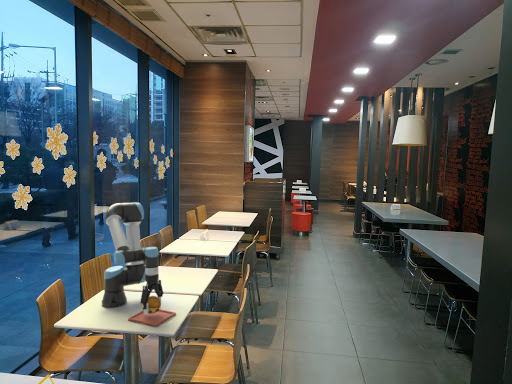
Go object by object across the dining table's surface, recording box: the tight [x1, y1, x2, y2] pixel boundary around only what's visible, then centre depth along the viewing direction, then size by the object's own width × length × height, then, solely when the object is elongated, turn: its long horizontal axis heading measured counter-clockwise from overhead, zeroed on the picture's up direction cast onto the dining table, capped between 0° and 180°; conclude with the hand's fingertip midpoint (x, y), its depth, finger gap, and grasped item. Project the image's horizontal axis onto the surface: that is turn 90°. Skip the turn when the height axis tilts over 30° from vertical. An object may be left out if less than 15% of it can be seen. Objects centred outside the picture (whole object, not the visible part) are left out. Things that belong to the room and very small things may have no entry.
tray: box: [127, 308, 177, 328], centre depth 216 cm, size 20×18×2 cm
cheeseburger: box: [141, 295, 162, 314], centre depth 215 cm, size 10×11×10 cm
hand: (152, 310), depth 215 cm, fingers closed on cheeseburger, 10 cm apart
